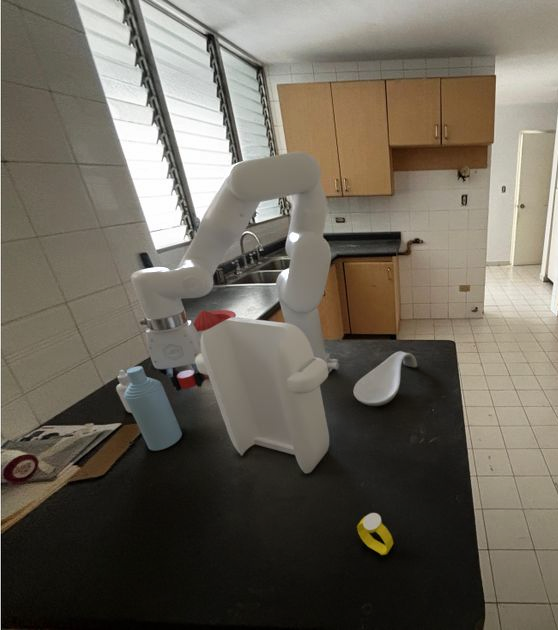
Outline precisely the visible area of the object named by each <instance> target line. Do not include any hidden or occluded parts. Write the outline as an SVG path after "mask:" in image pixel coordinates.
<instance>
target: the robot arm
mask: <svg viewBox="0 0 558 630" xmlns="http://www.w3.org/2000/svg"><path fill="white" fill-rule="evenodd" d="M321 179H322V169H321V166H320V163H319V162H318V160H317V159H316V157H314V156H313V155H312V154H310V153H308V152H306V151H301V150H296V151H290V152H286V153H282V154H281V153H280V154H276V155H272V156H267V157H266V156H265V157H260V158H255V159H249V160H241V161H238V162H236V163H235V164H233V165H232V166H231V167H230V168H228V171H227V172H226V174H225V176H224V178H223V179H222V182H221V184H220V185H219V187H218V189H217V191H216V193H215V194H214V197H213V198H212V200H211V201H210V204H209V205H208V207H207V209H206V211H205V213H204V214H203V216H202V218H201V220H200V223H199V226H198V229H197V231H196V233H195V235H194V237H193V239H192V241H191V242H190V244H189V245H188V248H187V249H186V251H185V252H184V255H183V257H182V258H181V260H180V262H179V264H178V266H177V267H176V269H169V268H167V267H163V266H156V267H147V268H142V269H139V270H136V271H134V272H133V273H131V275H130V281H131V284H132V287H133V289H134V293H135V295H136V297H137V300H138V303H139V305H140V308H141V310H142V313H143V315H144V318H140V319H139V324H140V325H141V326H144V325H145V326H146V327H147V329H146V330H145V340H146V345H147V349H148V353H149V357H150V363H149V365H148V370H150V371H155V372H159V373H160V374H163V375H165V376H166V377H167V378H168V379H170V381H171V383H172V386H173V388H174V387H175V389H176V391H177V392H179V391H181V390H183V389H182V388H181V387H180V384H179V382H178V379H177V375H178V374H179V373H180V372H181V371H179V370H177V368H179V367H185V366H190V367H191V368H192V370H194V374H193V375H194V378H195V381H196V384H197V385H196V387H198V388H199V387H200V388H201V387H202V385H203V384H204V382H205V381H206V378H205V377H204V374H202V373H200V372H199V371H198V369H197V366H196V363H195V359H196V357H197V356H198V355H199V354H200V353H201V347H200V340H201V338H200V336H199V334H198V332H197V330H196V328H195V327H194V325H193V324H194V322H192V320H189V319H188V317H187V314H186V311H185V308H184V304H183V301H182V299H199V298H202V297H205V296H207V295H209V293H210V292H211V291H212V290H213V287H214V275H215V273H216V271H217V269H218V267H219V265H220V264H221V262H222V259H223V258H224V256H225V255H226V253H228V251H229V250H230V248H231V247H232V246H233V245H234V244H236V243H237V242H238V241H240V239H241V237H242V236H243V235H244V233H245V231H246V229H247V227H248V225H249V223H250V221H251V220H252V218H253V216H254V215H255V212H256V211H257V209H258V207H259V206H260V203H263V202H267V201H273V200H278V199H281V198H282V199H283V198H285V197H290V196H291V199H292V209H291V216H290V217H291V218H290V224H289V227H288V233H287V238H286V241H285V248H284V249H285V253H286V255H287V257H288V258H289V259H290V260H289V266H288V268H286V269H284V270H282V271H281V272H280V273H279V274H278V276H277V278H276V280H275V291H276V295H277V298H278V301H279V305H280V308H281V313H282V316H283V321H284V323H288V324H292V325H295V326H296V327H298V328H299V329H300V330H301V331H302V332H303V333H304V334H305V336H306V337H307V339H308V341H309V343H310V346H311V348H312V351H313V355H314V357H316V358H320V359H322V360H324V361H325V362H326V364H327V368H328V374H330V373H331V372H332V371H333V370H339V368H340V364H339V359H338V358H332V357H331V356H330V353H328V352H326V346H325V340H324V335H323V329H322V323H321V317H320V312H319V306H320V304H321V302H322V300H323V298H324V294H325V290H326V286H327V281H328V277H329V272H330V268H331V263H332V262H331V261H332V251H331V247H330V244H329V242H328V241H327V240H326V239H325V238H324V233H325V226H326V220H327V212H328V202H327V196H326V193H325V192H326V191H325V190H324V187H323V185H322V183H321ZM188 320H189V321H188Z"/></svg>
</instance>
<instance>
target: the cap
mask: <svg viewBox="0 0 558 630" xmlns="http://www.w3.org/2000/svg"><path fill="white" fill-rule="evenodd" d="M179 372H180V373H179V374H178V375H177V379H178V382H179V384H180V387H181V388H182V389H181V390H188V389H191V388H195V387H197V384H196V381H195V378H194V375H193V374H194V369H186V370H183V371H179Z"/></svg>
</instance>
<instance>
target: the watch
mask: <svg viewBox="0 0 558 630" xmlns="http://www.w3.org/2000/svg"><path fill="white" fill-rule="evenodd" d="M356 528H357V533H358V535H359V537H360V539H361V540H362V542H363V543H364V544H365V545H366V547H368V548H369V549H371V550H373V551H375V552H376V553H378V554H379V555H381V556H385V555H386V556H387V555H388V554H389V552H390V550H391V549H392V548H393V545H394V540H393V536H392V533H390V531H389V530H388V528H387V526H385V525H384V524H383V522H382V517H381V515H380V514H379V513H377V512H369V513H368V514H367V515H364V516H363V518H361V520H360V521H359V523H358V524H357V526H356ZM372 533H373V534H374V533H376V534H377V535H379V536H380V538H381V539H382V541H383V543H382V542H381V541H378V540H377V539H375V538H374V537H373V536H372V535H371V534H372Z"/></svg>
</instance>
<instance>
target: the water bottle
mask: <svg viewBox="0 0 558 630" xmlns="http://www.w3.org/2000/svg"><path fill="white" fill-rule="evenodd" d="M126 373H127V375H128V377H129V379H130V381H131V383H130V385H129V386H128V388H127V390H126V391H125V395H124V397H125V399H126V401H127V403H128V405H129V408H130V410H131V412H132V413H131V414H132V416H133V418H134V420H135V422H136V425H137V427H138V429H139V430H140V433H141V435H142V438H143V439H144V441H145V444H146V446H147V447H148V449H149V450H150V451H154V452H155V451H161V450H165V449H167V448H170V447H171V446H173V445H175V444H176V443H177V442H178V441H179V440H180V439H181V438H182V436H183V432H182V430H181V427H180V424H179V422H178V420H177V417H176V415H175V412H174V410H173V408H172V405H171V402H170V401H169V398H168V396H167V394H166V391H165V389H164V386H163V384H162V382H161V381H160V380H158V379H155V378H151V377H148V376H147V374H146V373H145V370H144V367H143V366H141V365H137V366H133V367H131V368H129V369H127V370H126Z"/></svg>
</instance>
